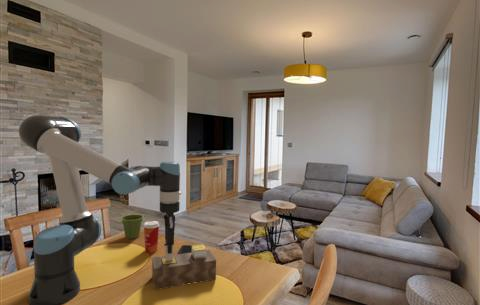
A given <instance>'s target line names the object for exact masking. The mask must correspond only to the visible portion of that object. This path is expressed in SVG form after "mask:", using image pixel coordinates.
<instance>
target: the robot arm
mask: <svg viewBox="0 0 480 305" xmlns="http://www.w3.org/2000/svg"><path fill="white" fill-rule="evenodd" d="M18 135H19V138H20V140H21V141H22V142H23V143H24V144H25V145H26V146H27V147H29V148H31V149H33V150H35V151H36V152H38V153H41V154H44V155H46V156H48V157H49V160H50V165H51V170H52V174H53V178H54V183H55V187H56V192H57V197H58V201H59V206H60V210H61V214H62V215H61V218H60V219H59V221H58V222H59V225H53V226H50V227H47V228H45V229H42V230H41V231H39V232H37V234H36V235H35V237H34V240H33V247H32V248H33V249H32V250H33V261H34V262H33V266H34V269H33V271H34V272H33V273H34V277H33V278H34V279H33V281H32V284H31V287H30V290H29V293H28V304H29V305H61V304H64V303H66V302H68V301H70V300H72V299H73V298H75V296H77V295H78V294H79V292H80V291H81V281H80V279H79V277H78V274H77V272H76V270H75V257H76V256H77V255H79V254H80V253H82V252H84V251H85V250H86V249H89V248H90V247H92V246H93V245H94V244H95V243H96V242H97V241H98V240H99V239H100V237H101V234H102V224H101V222H100V220H98V219H97V218H96V217H94V216H93V212H91V211H89V210H88V207H87V202H86V199H85V198H86V197H85V194H84V193H85V192H84V189H83V188H84V187H83V185H82V179H81V174H80V170H82V171H84V172H85V173H88V174H90V175H92V176H93V177H95V178H97V179H99V180H101V181H103V182H105V183H107V184H109V185H111V187H112V189H113V190H114V192H116V193H117V194H119V195H128V194H132V193H135V192H136V191H138V190H140V189H142V188H146V187H148V186H149V187H152V186H153V187H159V201H160V202H159V212H160V213H161V214H164V215H163V220H164V239H165V240H164V241H165V242H164V246H165V255H164V256H165V260H166V261H171V260H173V255H174V245H175V227H176V223H175V222H176V216H175V213H178V212H179V211H180V201H179V200H180V195H182V192H181V191H180V187H181V186H180V185H181V184H180V183H181V171H180V163H179V162H177V161H161V162H160V163H159V166H147V165H144V166H143V165H133V166H131V167H128V166H125V165H124V164H121V163H119V162H117V161H115V160H114V159H111V158H110V157H108V156H105V155H103V154H102V153H99V152H97V151H96V150H94V149H91V148H89V147H87V146H86V145H83V144H81V143H80V139H81V138H82V130H81V128H80V126H79V124H78V123H76V121H74V120H73V119H71V118H68V117H67V118H66V117H63V116H52V115H42V114H35V115H32V116H31V115H30V116H28V117H26V118H25V119H24V120H22V122H21V123H20V125H19V127H18ZM79 169H80V170H79Z"/></svg>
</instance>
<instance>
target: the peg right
mask: <svg viewBox="0 0 480 305" xmlns="http://www.w3.org/2000/svg"><path fill="white" fill-rule="evenodd" d="M191 246H192V259H193V261H196V260H203V259H206V251H207V247H206V246H205V245H204V243H203V244H195V245H191Z"/></svg>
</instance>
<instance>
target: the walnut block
mask: <svg viewBox="0 0 480 305" xmlns="http://www.w3.org/2000/svg"><path fill="white" fill-rule="evenodd" d="M173 257H175V260H176V263H174V264H167V265H162V259H163V258H165V255H163V256H154V257H152V259H151V260H152V261H151V262H152V264H151V273H152V274H151V275H152V276H151V277H152V278H151V280H152V285H153V286H152V287H153V290H154V291H155V289H157V290H161V289H160V288H162V289H167V288H166V287H168V288H172V287H171V286H174V287H179V286H178V285H180V286H183V285H182V284H186V285H189V284H188V283H191V284H195V283H194V282H197V283H201V282H200V281H203V282H207V281H206V280H209V281H213V280H212V279H215V280H216V279H217V259H216V258H215V256H214V254H213V252H212V251H211V250H210V249H208V250H207V249H206V259H203V260H196V261H193V259H192V253H184V254H173Z"/></svg>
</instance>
